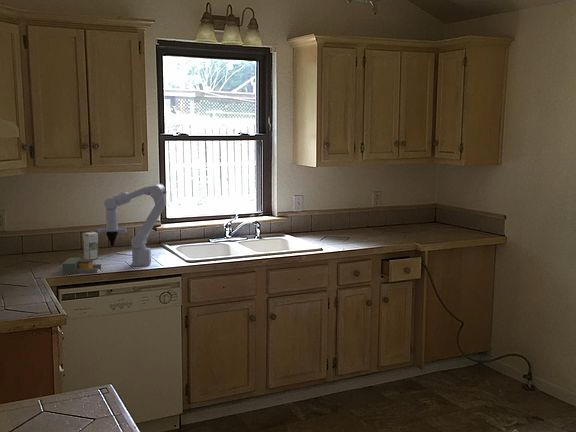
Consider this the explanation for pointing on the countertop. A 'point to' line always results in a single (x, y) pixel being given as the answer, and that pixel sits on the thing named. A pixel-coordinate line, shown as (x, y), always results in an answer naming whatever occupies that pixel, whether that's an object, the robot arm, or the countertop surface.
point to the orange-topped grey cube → (86, 263)
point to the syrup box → (90, 245)
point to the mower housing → (77, 267)
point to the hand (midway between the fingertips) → (112, 246)
